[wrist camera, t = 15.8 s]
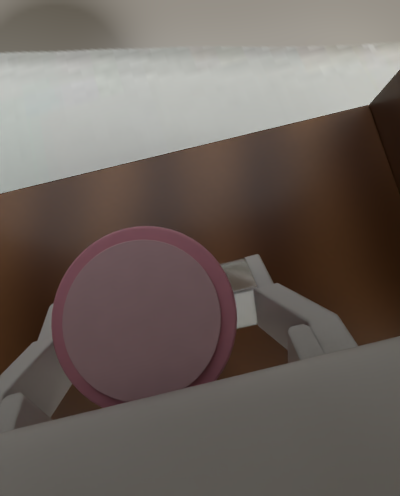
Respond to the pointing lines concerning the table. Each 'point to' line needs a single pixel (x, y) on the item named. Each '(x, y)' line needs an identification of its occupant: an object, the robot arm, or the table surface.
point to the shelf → (230, 225)
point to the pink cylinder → (143, 316)
